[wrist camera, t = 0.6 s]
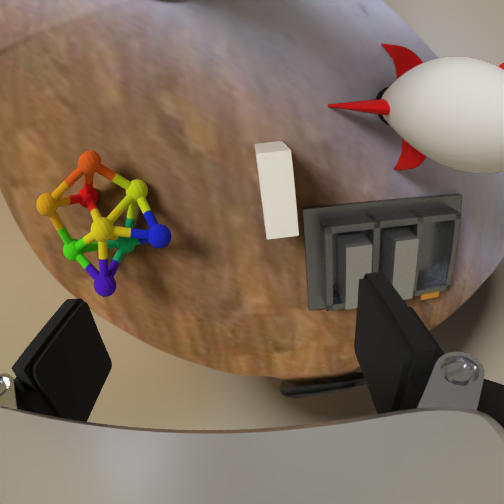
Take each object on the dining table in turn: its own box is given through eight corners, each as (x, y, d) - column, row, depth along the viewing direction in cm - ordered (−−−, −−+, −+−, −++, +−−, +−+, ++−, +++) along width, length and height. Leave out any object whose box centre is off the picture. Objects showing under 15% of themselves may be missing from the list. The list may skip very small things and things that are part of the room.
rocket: (444, 110, 32) (612, 148, 9) (394, 170, 35) (548, 266, 13) (382, 43, 29) (545, -5, 6) (327, 105, 32) (467, 114, 10)
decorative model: (113, 128, 29) (179, 257, 31) (133, 147, 38) (186, 250, 40) (20, 194, 28) (77, 315, 30) (53, 199, 37) (102, 298, 39)
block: (254, 144, 34) (256, 153, 27) (281, 140, 34) (290, 150, 27) (263, 212, 38) (266, 239, 30) (289, 209, 37) (298, 235, 30)
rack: (301, 208, 37) (310, 225, 32) (459, 194, 36) (483, 207, 31) (308, 307, 43) (315, 333, 38) (448, 284, 42) (466, 304, 37)
